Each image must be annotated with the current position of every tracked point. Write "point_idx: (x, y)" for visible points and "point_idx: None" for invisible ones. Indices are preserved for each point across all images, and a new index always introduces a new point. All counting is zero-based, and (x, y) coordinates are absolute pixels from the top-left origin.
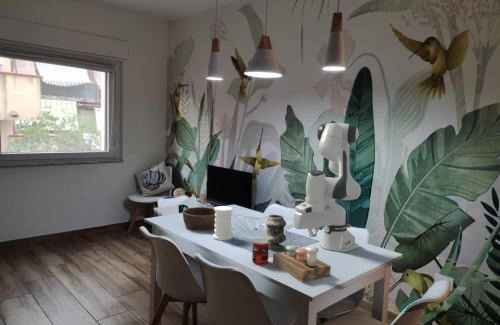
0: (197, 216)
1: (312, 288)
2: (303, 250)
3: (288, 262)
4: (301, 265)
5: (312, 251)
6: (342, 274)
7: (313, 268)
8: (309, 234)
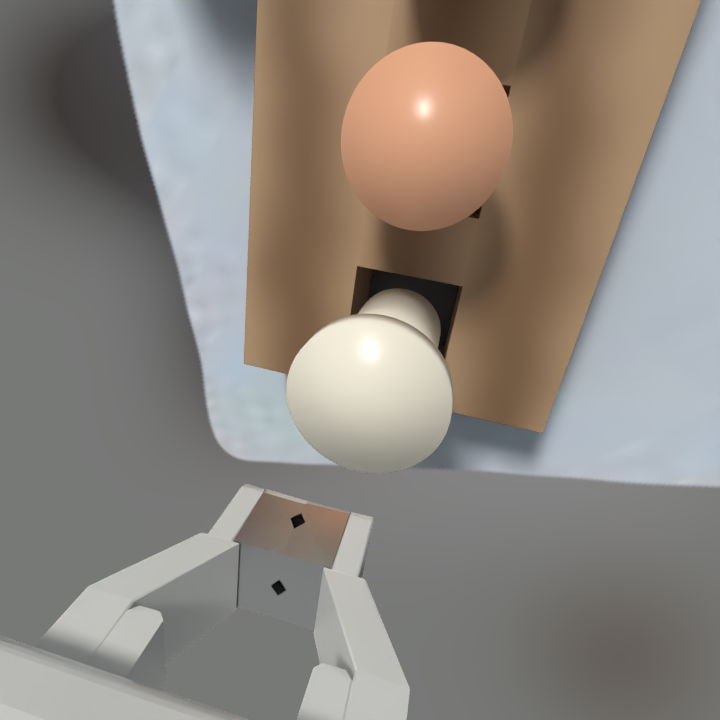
0: None
1: (280, 419)
2: (450, 161)
3: (259, 138)
4: (321, 271)
5: (315, 439)
6: (651, 425)
7: None
8: (227, 511)
